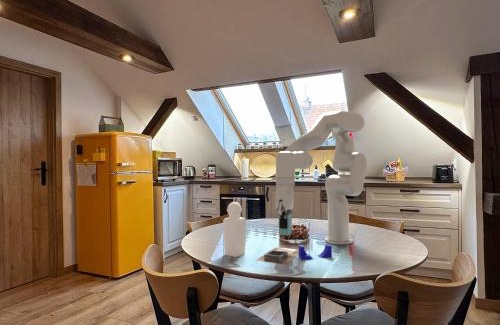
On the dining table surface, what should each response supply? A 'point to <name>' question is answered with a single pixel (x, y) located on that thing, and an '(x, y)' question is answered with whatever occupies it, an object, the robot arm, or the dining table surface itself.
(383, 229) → the dining table surface
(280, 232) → the plug
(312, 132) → the robot arm
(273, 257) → the board
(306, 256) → the cable clip
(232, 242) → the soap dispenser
